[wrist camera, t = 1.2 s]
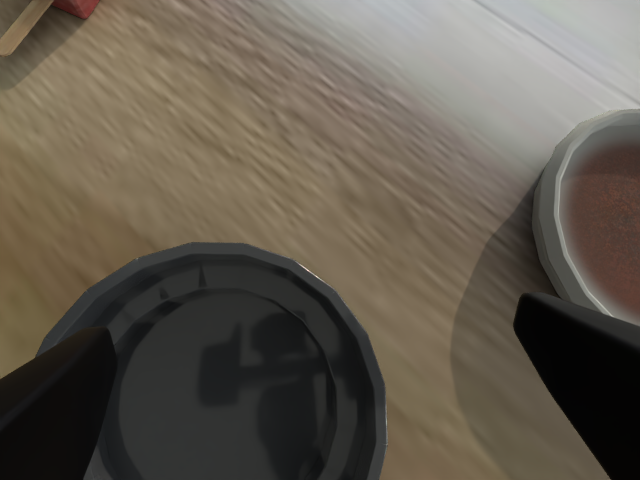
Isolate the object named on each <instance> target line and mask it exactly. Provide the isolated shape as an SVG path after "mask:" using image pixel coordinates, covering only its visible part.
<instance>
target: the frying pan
mask: <svg viewBox="0 0 640 480" xmlns="http://www.w3.org/2000/svg"><path fill="white" fill-rule="evenodd" d="M532 230H533V234H534V238H535V243H536V247H537V251H538V256H539V260H540V263H541V264H542V266H543V268H544V270H545V272H546V274H547V275H548V277H549V279H550V281H551V283H552V285H553V286H554V288H555V290H556V292H557V294H558V295H559V296H560V297H561V298H562V299H563V300H566V301H569V302H572V303H574V304H577V305H580V306H583V307H586V308H589V309H592V310H594V311H597V312H600V313H603V314H606V315H609V316H612V317H614V318H617V319H620V320H623V321H626V322H629V323H632V324H635V325H637V326H640V109H629V110H613V111H608V112H606V113H603V114H601V115H598V116H596V117H594V118H591V119H589V120H586V121H584V122H582V123H579V124H578V125H577V126H576V127H575V128H574V129H573V130H572V131H571V132H570V133H569V134H568V135H567V136H566V137H565V138H564V139H563V140H562V141H561V142H560V143H559V144H558V145H557V146H556V147H555V150H554V152H553V154H552V157H551V159H550V161H549V162H548V164H547V165H546V167H545V169H544V171H543V174H542V176H541V178H540V181H539V183H538V185H537V187H536V190H535V192H534V201H533V214H532Z"/></svg>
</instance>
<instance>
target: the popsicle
mask: <svg viewBox="0 0 640 480" xmlns="http://www.w3.org/2000/svg"><path fill="white" fill-rule="evenodd" d="M99 1H100V0H32V1H31V2H30V3H29V5H28V6H27V7H26V8H25V10H24V11H23V12H22V13H21V14H20V16H19V17H18V18H17V19H16V21H15V22H14V23H13V24H12V25H11V27H10V28H9V29H8V30H7V32H6V33H5V34H4V35H3V36H2V38H1V39H0V56H1V57H6V56H9V55H10V54H11V53H12V52H13V51H14V50H15V49H16V47H17V46H18V45H19V44H20V42H21V41H22V40H23V39H24V37H25V36H26V35H27V34H28V32H29V31H30V30H31V29H32V27H33V26H34V25H35V24H36V22H37V21H38V20H39V19H40V17H41V16H42V15H43V14H44V12H45V11H46V10H47V9H48V7H49V6H50V5H54V6H56V7H58V8H60V9H62V10H64V11H67V12H69V13H71V14H73V15H75V16H77V17H80V18H82V19H86V18H87V17H88V16H89V15H90V14H91V12H92V11H93V10H94V8H95V7H96V5H97V4H98V2H99Z"/></svg>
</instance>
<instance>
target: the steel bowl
mask: <svg viewBox="0 0 640 480" xmlns="http://www.w3.org/2000/svg"><path fill="white" fill-rule="evenodd" d="M101 326H104V327H106V328H108V329H109V331H110V333H111V337H112V341H113V345H114V348H115V352H116V356H117V361H118V367H117V372H116V376H115V380H114V383H113V387H112V391H111V395H110V398H109V402H108V406H107V409H106V413H105V417H104V420H103V424H102V428H101V432H100V435H99V438H98V442H97V445H96V447H95V450H94V453H93V456H92V458H91V461H90V463H89V466H88V468H87V471H86V473H85V476H84V479H83V480H379V478H380V474H381V470H382V466H383V462H384V458H385V454H386V450H387V446H388V445H387V443H388V437H387V413H386V389H385V383H384V380H383V377H382V374H381V371H380V368H379V365H378V362H377V359H376V356H375V354H374V351H373V348H372V345H371V342H370V339H369V336H368V334H367V332H366V330H365V329H364V328H363V326H362V325H361V324H360V322H359V321H358V319H357V318H356V317H355V315H354V314H353V313H352V311H351V310H350V309H349V307H348V306H347V304H346V303H345V302H344V300H343V299H342V298H341V296H340V295H339V294H338V292H337V291H335V289H334V288H332V287H331V286H330V285H328V284H327V283H326V282H324V281H323V280H322V279H320V278H319V277H317V276H316V275H315V274H313V273H312V272H311V271H309V270H308V269H306V268H305V267H304V266H302V265H301V264H300V263H298V262H297V261H296V260H293V259H291V258H288V257H285V256H282V255H279V254H276V253H273V252H270V251H267V250H264V249H261V248H258V247H255V246H252V245H249V244H244V243H208V242H191V243H187V244H184V245H180V246H177V247H173V248H170V249H166V250H163V251H159V252H156V253H152V254H149V255H145V256H142V257H139V258H136V259H134V260H133V261H131V262H130V263H128V264H126V265H125V266H123V267H122V268H120V269H119V270H117V271H115V272H114V273H112V274H111V275H109V276H108V277H106V278H104V279H103V280H101V281H100V282H98V283H97V284H95V285H93V286H92V287H90V288H89V289H87V291H85V292H84V293H83V295H82V296H81V297H80V298H79V299H78V300H77V301H76V302H75V304H74V305H73V306H72V307H71V308H70V309H69V310H68V311H67V313H66V314H65V315H64V316H63V317H62V318H61V319H60V320H59V322H58V323H57V324H56V325H55V326H54V327H53V328H52V329H51V331H50V332H49V333H48V334H47V335H46V337H45V338H44V340H43V342H42V344H41V346H40V348H39V350H38V352H37V354H36V357H38V356H39V355H41V354H42V353H44V352H46V351H47V350H49V349H51V348H52V347H54V346H55V345H57V344H59V343H60V342H62V341H64V340H65V339H67V338H69V337H70V336H72V335H73V334H75V333H77V332H78V331H80V330H82V329H83V328H89V327H101ZM36 357H35V358H36Z"/></svg>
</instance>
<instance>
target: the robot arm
mask: <svg viewBox="0 0 640 480" xmlns="http://www.w3.org/2000/svg"><path fill="white" fill-rule="evenodd" d="M513 327H514V331H515V334H516V336H517V337H518V339H519V341H520V343H521V344H522V346H523V348H524V350H525V351H526V353H527V355H528V357H529V358H530V360H531V362H532V363H533V365H534V367H535V369H536V370H537V372H538V374H539V376H540V377H541V379H542V381H543V382H544V384H545V386H546V387H547V389H548V391H549V392H550V394H551V395H552V397H553V398H554V400H555V401H556V403H557V404H558V405H559V407H560V408H561V410H562V411H563V412H564V414H565V415H566V417H567V418H568V420H569V421H570V422H571V424H572V425H573V427H574V428H575V429H576V431H577V432H578V434H579V435H580V436H581V438H582V439H583V441H584V442H585V444H586V445H587V446H588V448H589V449H590V451H591V452H592V453H593V455H594V456H595V458H596V459H597V461H598V462H599V463H600V465H601V466H602V468H603V469H604V470H605V472H606V473H607V475H608V476H609V478H610V479H611V480H640V326H637V325H635V324H632V323H629V322H626V321H623V320H620V319H617V318H614V317H612V316H609V315H606V314H603V313H600V312H597V311H594V310H592V309H589V308H586V307H583V306H580V305H577V304H574V303H572V302H569V301H566V300H563V299H560V298H557V297H554V296H551V295H549V294H546V293H543V292H530V293H524V294H522V295H521V297H520V298H519V302H518V306H517V310H516V314H515V318H514V322H513ZM117 367H118V361H117V356H116V352H115V348H114V345H113V341H112V337H111V333H110V331H109V329H108V328H106V327H104V326H101V327H89V328H83V329H82V330H80V331H78V332H77V333H75V334H73V335H72V336H70V337H69V338H67V339H65V340H64V341H62V342H60V343H59V344H57V345H55V346H54V347H52V348H51V349H49V350H47V351H46V352H44V353H42V354H41V355H39V356H38V357H36V358H34V359H33V360H31V361H29V362H28V363H26V364H24V365H23V366H21V367H20V368H18V369H16V370H15V371H13V372H11V373H10V374H8V375H7V376H5V377H3V378H2V379H0V480H83V479H84V476H85V473H86V471H87V468H88V466H89V463H90V461H91V458H92V456H93V453H94V450H95V447H96V445H97V442H98V438H99V435H100V432H101V428H102V424H103V420H104V417H105V413H106V409H107V406H108V402H109V398H110V395H111V391H112V387H113V383H114V380H115V376H116V372H117Z"/></svg>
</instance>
